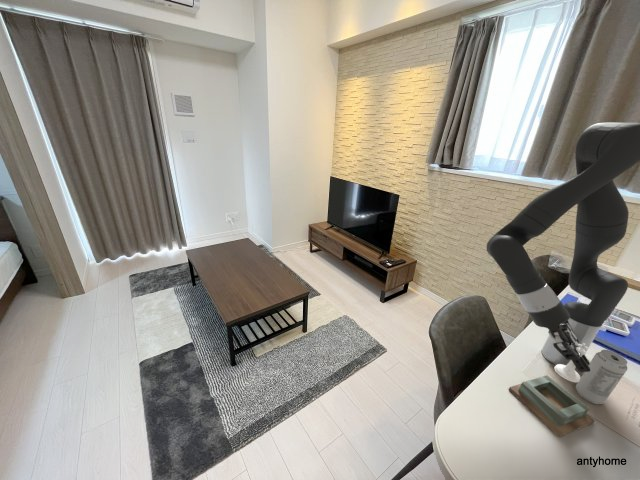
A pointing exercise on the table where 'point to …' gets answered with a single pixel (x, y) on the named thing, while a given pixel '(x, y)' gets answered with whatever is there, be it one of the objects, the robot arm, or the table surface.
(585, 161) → the robot arm
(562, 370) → the chess piece
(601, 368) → the energy drink can
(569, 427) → the socket board
